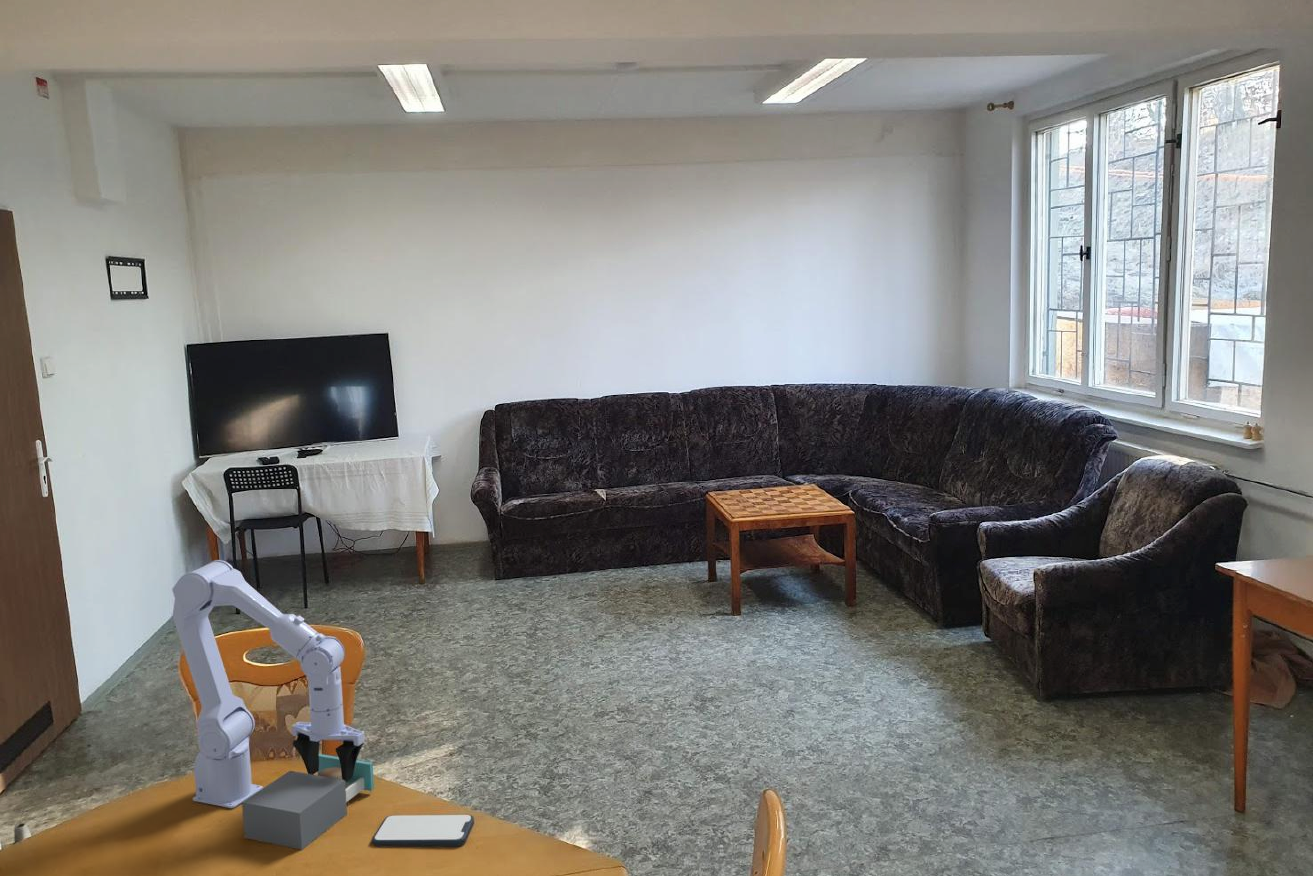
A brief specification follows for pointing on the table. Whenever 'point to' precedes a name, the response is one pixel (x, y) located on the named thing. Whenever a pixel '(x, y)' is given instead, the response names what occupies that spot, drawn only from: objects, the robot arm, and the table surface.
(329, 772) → the brown cork
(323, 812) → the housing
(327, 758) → the tray
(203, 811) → the table surface
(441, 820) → the smartphone
